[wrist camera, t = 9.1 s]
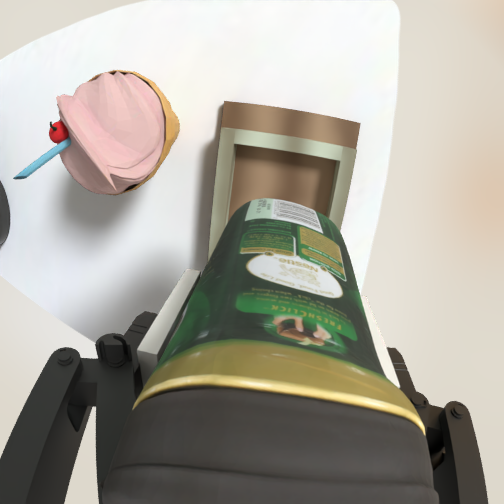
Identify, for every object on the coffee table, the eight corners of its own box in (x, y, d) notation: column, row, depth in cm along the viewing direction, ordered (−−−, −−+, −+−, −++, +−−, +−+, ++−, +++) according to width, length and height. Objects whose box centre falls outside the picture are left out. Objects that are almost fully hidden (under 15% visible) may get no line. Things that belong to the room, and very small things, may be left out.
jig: (207, 276, 41) (201, 290, 37) (225, 101, 32) (219, 99, 29) (321, 294, 40) (323, 309, 37) (358, 123, 31) (366, 123, 28)
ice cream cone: (165, 190, 37) (67, 255, 18) (107, 135, 34) (-15, 159, 16) (225, 122, 33) (158, 120, 15) (159, 66, 31) (50, 29, 12)
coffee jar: (307, 337, 23) (311, 599, 6) (204, 309, 22) (106, 566, 5) (359, 218, 19) (523, 532, 2) (237, 179, 19) (7, 510, 2)
